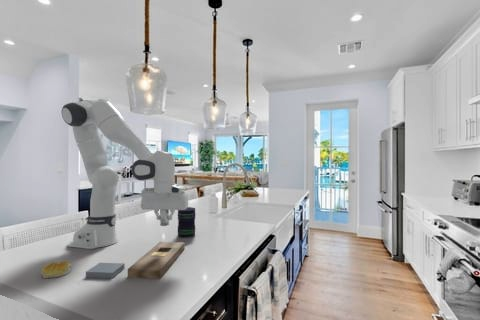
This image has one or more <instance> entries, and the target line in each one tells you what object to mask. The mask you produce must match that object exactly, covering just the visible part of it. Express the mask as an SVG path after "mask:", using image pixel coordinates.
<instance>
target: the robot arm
mask: <svg viewBox="0 0 480 320" xmlns="http://www.w3.org/2000/svg"><path fill="white" fill-rule="evenodd" d="M61 117H62V119H63V121H64V122H65V124H67V125H68V126H70V127H72V133H73V137H74V140H75V143H76V145H77V148H78V150H79V153H80V156H81V158H82V161H83V166H84V169H85V170H84V171H85V173H86V176H87V178H88V181H89V183H90V184H91V185H92V189H91V195H90V201H89V202H90V203H89V209H90V210H89V215H88V216H87V217H84V221H86V223H84V225H82V226H81V227H79V229H77V230H76V231H75V232H74V234H73V237H72V240H71V241H69V242H68V243H67V245H66V246H67V247H70V248H71V247H72V248H78V249H86V250H93V249H98V248H101V247H102V248H103V247H108V246H111V245H113V244H116V243H117V242H118V241H119V239H118V236H117V230H116V222H117V218H116V217H117V216H116V215H117V214H116V196H117V195H116V194H117V189H118V182H119V178H120V176H119V174H118V172H117V170H115V169H114V168H113V167H110V164H109V157H108V152H107V148H106V146H105V143H104V140H103V138H102V136H101V133H102V135H103V136H104V137H105V138H107V139H108V140H109V141H110V142H113V143H115V144H118V145H121V146H123V147H125V148H127V149H129V151H131V152H132V153H133V154H134V156H135V157H136V158H137V159H136V160H135V161H134V162H133V163H132V165H131V168H130V171H131V175H132V176H133V178H134V179H135V180H137V181H141V182H142V181H143V182H144V181H145V182H146V181H151V180H153V187H144V188H143V189H142V190H141V193H140V194H141V195H140V196H141V199H140V200H141V201H140V208H141V209H142V210H153V212H154V214H155V216H156V221H157V220H158V221H160V210H169V216H168V220H169V221H172V220H173V215H174V214H175V212H176V211H178V210H185V209H186V208H187V207H189V201H188V200H189V199H188V194H187V193H186V187H185V186H184V185H180V184H178V183H176V180H175V172H176V171H175V170H176V166H175V164H176V163H175V156H174V155H173V153H171V152H168V151H161V150H156V151H155V152H154V153H152V152H151V151H150V150H149V148H147V146H146V145H145V143H144V142H143V141H142V140H141V139H140V137H138V135H137V134H136V132H134V130H133V129H132V128H131V126H130V125H129V123H128V122H127V121H126V119H125V117H123V115H122V114H121V112H119V109H117V108H116V107H114V105H113V104H112V103H111V102H110V101H109V100H106V99H87V100H82V101H76V102H74V101H73V102H68V103H66V104H64V105H63V106H62V109H61ZM100 132H101V133H100Z"/></svg>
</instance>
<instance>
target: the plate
mask: <svg viewBox="0 0 480 320" xmlns="http://www.w3.org/2000/svg"><path fill="white" fill-rule="evenodd" d="M125 266H126V265H125V263H124V262H123V263H121V262H99V263H97V264H95V265H93V266H92V267H91V268H90V269H88V270H86V271H85V278H89V279H90V278H91V279H94V278H95V279H113V278H115V277H116V276H117V275H119V274H120V273H121V272H122V271H123V270H125Z"/></svg>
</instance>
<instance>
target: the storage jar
mask: <svg viewBox="0 0 480 320" xmlns="http://www.w3.org/2000/svg"><path fill="white" fill-rule="evenodd" d="M195 221H196V208H195V207H190V206H188V207H187V208H186V209H185V210H177V224H178V225H177V237H178V238H181V239H189V238H194V237H196V222H195Z"/></svg>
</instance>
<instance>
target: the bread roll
mask: <svg viewBox="0 0 480 320" xmlns="http://www.w3.org/2000/svg"><path fill="white" fill-rule="evenodd" d="M72 269H73V265H72V264H71V263H69V262H67V261H60V262H59V263H58V262H51V263H49V264H46V265H45V266H44V267H43V268H42V269H41V277H42V278H44V279H52V278H61V277H63V276H66V275H68V274H69V273H70V272H71V271H72Z"/></svg>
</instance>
